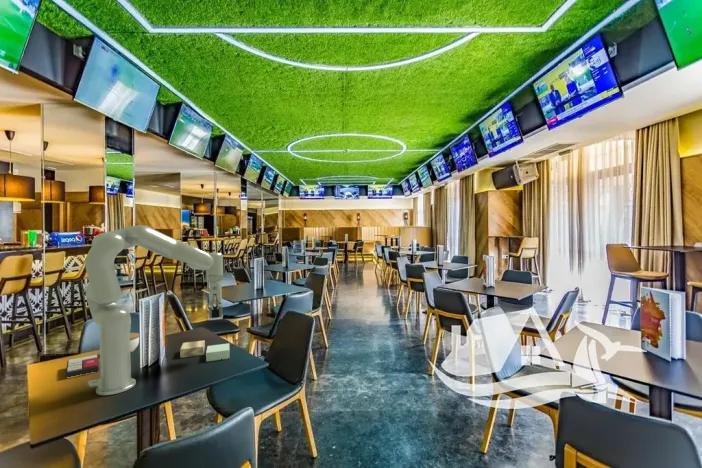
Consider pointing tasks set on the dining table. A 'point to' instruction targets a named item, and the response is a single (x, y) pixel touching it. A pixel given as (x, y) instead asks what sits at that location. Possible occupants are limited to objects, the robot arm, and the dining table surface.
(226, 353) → the stand
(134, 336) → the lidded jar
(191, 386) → the dining table surface
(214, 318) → the block
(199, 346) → the stand
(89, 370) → the red and grey box
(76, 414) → the dining table surface
